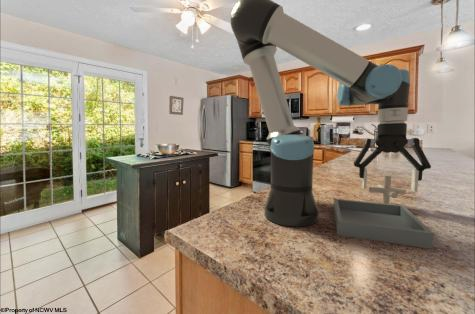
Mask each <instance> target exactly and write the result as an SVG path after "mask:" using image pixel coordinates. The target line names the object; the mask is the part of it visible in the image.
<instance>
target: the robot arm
mask: <svg viewBox="0 0 475 314" xmlns="http://www.w3.org/2000/svg"><path fill="white" fill-rule="evenodd" d="M230 13H231V14H230V27H231V30H232V32H233V35H234V37H235V39H236V41H237V44H238V47H239V51H240V54H241V58H242V61H243V63H244V64H245V65H247V66H249V68H250V69H249V70H250V72H251V75H252V79H253V81H254V82H253V83H254V86H255V89H256V92H257V95H258V98H259V102H260V106H261V110H262V113H263V116H264V120H265V122H266V126H267V129H268V135H267V137H266V141H267V145H268V147H269V152H270V191H269V193H268V196H267V198H266V202H265V206H264V216H265V218H266V219H267V220H268V221H270V222H271V223H274V224H278V225H281V226H286V227H295V228H296V227H307V226H311V225H315V223H317V222H318V220H319V209H318V206H317V203H316V200H315V197H314V193H313V179H314V177H313V176H314V153H315V146H314V145H315V143H314V139H313V138H312V137H310V136H308V135H303V134H302V131H301V129H300V128H299V127H297V126H295V125H294V121H293V118H292V115H291V111H290V108H289V103H288V101H287V98H286V97H287V96H286V94H285V90H284V86H283V83H282V79H281V76H280V73H279V70H278V69H279V68H278V66H277V62H276V58H275V55H276V53H277V51H278V49H280V50H282V51H283V52H284V53H285V52H286V53H287V54H289V55H291V56H293V57H294V58H296V59H298V60H300V61H301V62H303V63H305V64H306V65H308V66H309V67H312V68H313V69H316V70H317V71H319V72H321V73H322V74H324V75H326V76H327V77H329V78H331V79H333V80H335V81H336V82H338V83H339V85H338V87H337V95H336V96H337V97H336V98H337V103H338V105H340V106H346V107H347V106H348V107H351V106H364V105H377V106H378V107H377V111H378V112H377V128H376V129H377V131H376V138H375V139H372V138H366V139H364V140H365V142H364V146H363V147H362V148H361V150H360V152H359V153H358V155H357V157H356V158H355V160H354V162H353V166H354V167H356V168H358V169H359V171H358V172H359V173H358V174H359V175H358V177H359V178H360V179H362V184H361V185H362V187H361V188H363V189H365V190H366V189H367V181H368V168H366V167H367V166H369V164H370V163H371V162H373V161H374V159H376V158H377V157H378V156H379V155H380V154H382V153H386V154H387V153H395V154H398V153H400V154H401V155H402V156H403V157H404V158H405V159H406V160H407V161H408V162H409V163H410V164H411V166H413V168H414V169H413V168H412V170H411V182H410V183H411V185H410V190H411V191H413V193H418V188H419V187H418V186H419V182H421V181H423V171H425V170H427V169H428V170H429V169H431V168H432V166H431V163H430V161H429V160H428V157H427V156H426V154H425V153H424V151H423V149H422V147H421V145H420V139H419V138H418V137H412V138H407V132H408V131H407V130H408V129H407V128H408V124H407V123H406V122H407V121H408V114H409V113H408V112H409V111H408V110H409V98H410V97H409V96H410V86H411V80H410V77H411V76H410V71H409V70H408V69H404V68H403V69H402V68H401V69H400V68H398V67H397V66H396V65H393V64H388V63H387V64H380V65H378V64H376V63H374V62H372V61H370V60H369V59H367V58H365V57H363V56H362V55H360V54H358V53H356V52H355V51H353V50H351V49H349V48H347V47H345V46H344V45H342V44H341V43H339V42H336V41H335V40H333V39H332V38H330V37H327V36H325V35H324V34H322V33H320V32H318V31H317V30H315V29H313V28H312V27H309V26H308V25H306V24H304V23H302V22H300V20H297V19H295V18H294V17H292V16H290V15H288V14H287V13H285V12H284V8H283V6H282V5H280V4H278V3H276V2H275V1H273V0H237V2H236V3H234V6H233V7H232V11H231V12H230ZM374 144H375V145H376V148H375V149H374V150H373V151H372V152H371V153H370V154H369V155H368V156H367V157H366V158H365V159H364V157H365V156H366V154H367V152H368V150H369V149H370V147H371V146H373V145H374ZM407 144H409V145H410V146H411V147H412V149H413V151H414V153H415V155H416V156H417V159H418V160H419V162H420V163H419V162H418V160H417V159H416V158H415V157H413V156H412V155H411V153H410V152H409V151H408V150H407V149H406V147H405V146H406V145H407ZM363 159H364V160H363ZM362 160H363V161H362Z"/></svg>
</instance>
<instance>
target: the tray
mask: <svg viewBox="0 0 475 314" xmlns="http://www.w3.org/2000/svg"><path fill="white" fill-rule="evenodd" d="M333 214H334V222H335V229H336V234H337V236H342V237H350V238H354V239H355V238H356V239H361V240H369V241H370V240H371V241H376V242H383V243H390V244H395V245H403V246H409V247H416V248H422V249H431V250H432V249H433V243H434V232H433V231H431V230H430V229H429V228H428V226H426V224H424V223H423V222H422V221H421V220H420V219H419V218H418V217H417V216H416V215H415V214H414V213H412V211H410V210H409V209H408V208H407V207H406V206H405V205H403V204H394V203H389V204H385V203H382V202H373V201H363V200H362V201H361V200H354V199H353V200H351V199H341V198H333Z"/></svg>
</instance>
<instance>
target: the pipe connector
mask: <svg viewBox="0 0 475 314" xmlns="http://www.w3.org/2000/svg"><path fill="white" fill-rule="evenodd" d="M391 185H392V175H389V174H385V175H384V177H383V184H378V185H377V186H376V187H375V186H374V187H373V186H369V187H368V193H372V194H375V193H376V194H382V201H381V203H385V204H390V197H391V198H393V199H397V198H398V196H399V194H400V195H405V194H406V192H407V191H406V188H403V187H400V188H398V187H397V188H396V187H391Z"/></svg>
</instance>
